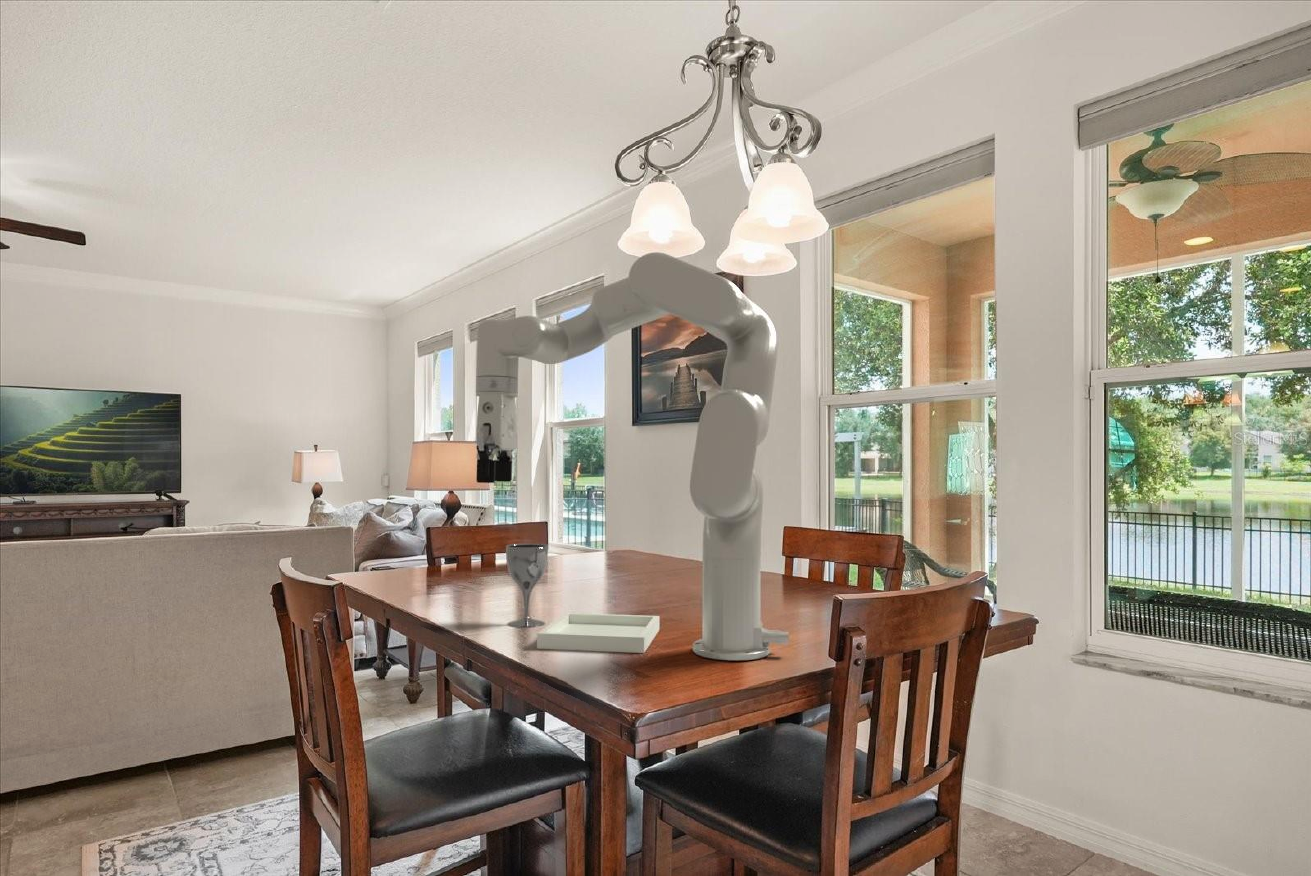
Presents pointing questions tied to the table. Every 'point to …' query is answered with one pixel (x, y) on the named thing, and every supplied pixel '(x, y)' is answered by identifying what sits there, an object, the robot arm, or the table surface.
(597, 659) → the table surface
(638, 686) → the table surface
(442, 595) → the table surface
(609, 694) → the table surface
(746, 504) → the robot arm
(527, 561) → the wine glass
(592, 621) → the tray
